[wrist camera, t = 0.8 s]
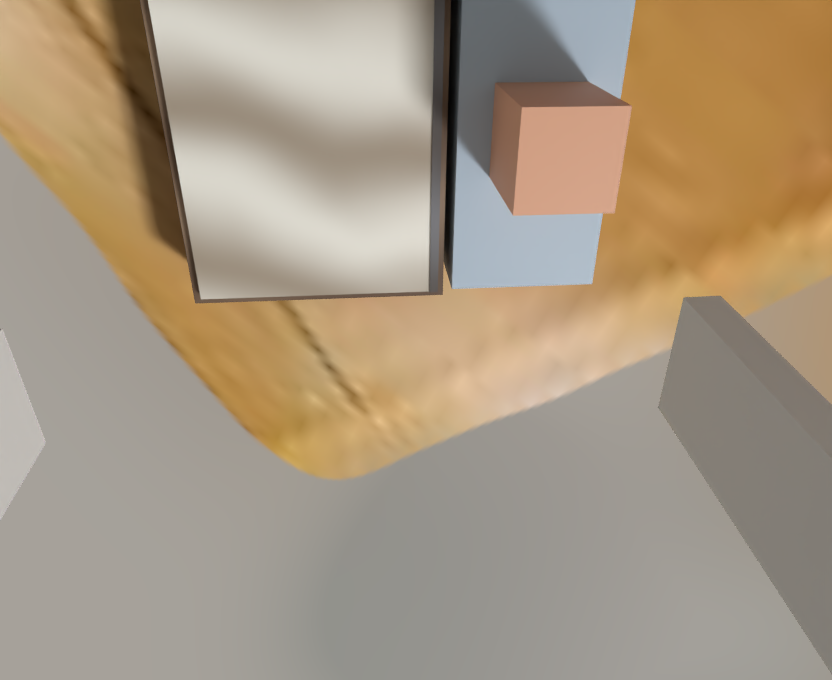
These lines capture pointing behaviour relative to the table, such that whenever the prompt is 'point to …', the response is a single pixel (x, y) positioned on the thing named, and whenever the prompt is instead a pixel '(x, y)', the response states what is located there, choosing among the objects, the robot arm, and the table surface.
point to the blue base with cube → (533, 138)
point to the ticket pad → (305, 143)
